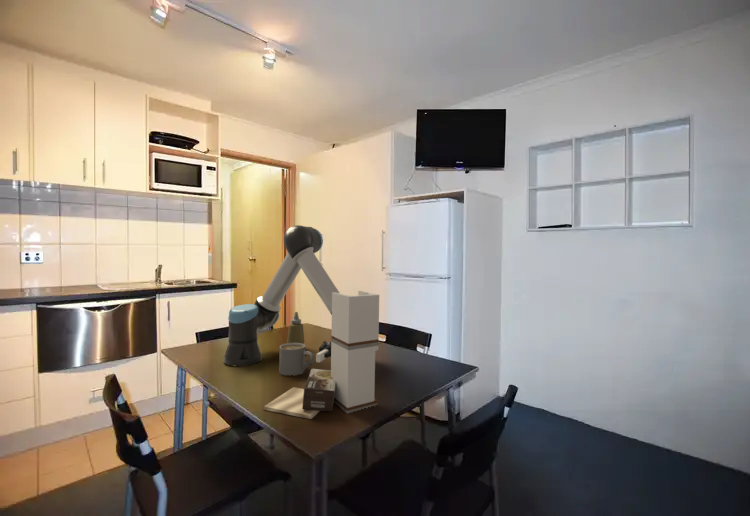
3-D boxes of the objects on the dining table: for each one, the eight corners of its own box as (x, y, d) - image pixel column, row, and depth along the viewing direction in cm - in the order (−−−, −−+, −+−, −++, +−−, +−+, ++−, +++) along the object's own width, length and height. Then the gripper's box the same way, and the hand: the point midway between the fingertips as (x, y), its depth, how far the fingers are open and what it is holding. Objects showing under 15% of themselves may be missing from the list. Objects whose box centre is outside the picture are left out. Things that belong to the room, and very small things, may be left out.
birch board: (263, 409, 105) (263, 406, 105) (293, 390, 120) (293, 387, 120) (311, 419, 100) (311, 415, 100) (335, 397, 115) (335, 394, 115)
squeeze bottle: (284, 351, 166) (284, 313, 165) (291, 346, 174) (291, 310, 173) (300, 352, 164) (301, 314, 164) (306, 347, 172) (307, 311, 172)
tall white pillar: (377, 406, 109) (379, 294, 109) (347, 414, 104) (349, 296, 103) (358, 393, 119) (360, 290, 118) (330, 400, 113) (332, 292, 112)
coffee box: (309, 386, 119) (301, 409, 102) (311, 368, 118) (303, 388, 102) (336, 389, 119) (332, 412, 103) (338, 370, 119) (334, 391, 103)
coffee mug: (273, 373, 136) (274, 347, 135) (288, 365, 145) (288, 341, 145) (304, 378, 131) (304, 351, 131) (317, 370, 140) (317, 345, 140)
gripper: (360, 352, 141) (335, 371, 118) (331, 349, 145) (301, 366, 123) (360, 334, 140) (335, 349, 118) (331, 331, 145) (301, 345, 122)
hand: (318, 358), depth 120 cm, fingers closed
